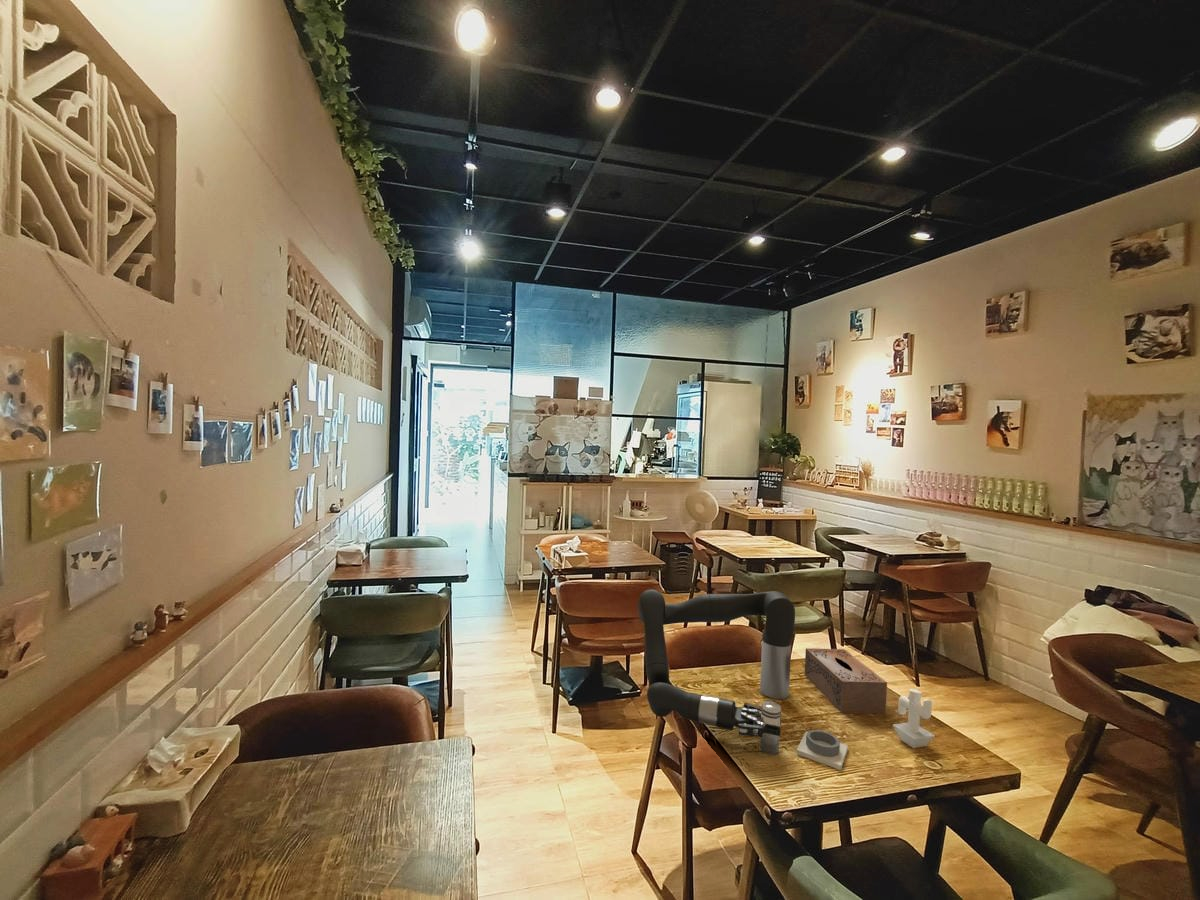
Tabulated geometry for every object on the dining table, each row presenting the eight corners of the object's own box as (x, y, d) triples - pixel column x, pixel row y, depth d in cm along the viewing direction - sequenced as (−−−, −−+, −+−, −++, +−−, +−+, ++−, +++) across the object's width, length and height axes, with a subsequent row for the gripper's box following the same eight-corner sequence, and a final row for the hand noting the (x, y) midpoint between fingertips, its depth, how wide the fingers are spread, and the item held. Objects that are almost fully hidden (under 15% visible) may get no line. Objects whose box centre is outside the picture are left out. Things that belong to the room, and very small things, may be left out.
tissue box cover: (804, 675, 187) (805, 648, 187) (843, 676, 188) (844, 649, 188) (840, 713, 161) (842, 681, 161) (885, 713, 162) (887, 682, 162)
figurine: (908, 732, 151) (910, 681, 151) (937, 750, 142) (940, 697, 142) (888, 735, 149) (891, 683, 149) (917, 754, 140) (920, 700, 140)
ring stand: (805, 735, 147) (806, 722, 147) (847, 749, 141) (848, 736, 141) (796, 754, 138) (796, 740, 138) (840, 770, 132) (841, 755, 132)
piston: (762, 741, 143) (764, 699, 143) (781, 748, 140) (783, 705, 140) (756, 750, 139) (758, 706, 139) (776, 757, 136) (778, 712, 136)
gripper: (720, 713, 151) (781, 726, 145) (712, 738, 138) (779, 754, 132) (721, 687, 151) (782, 700, 145) (713, 710, 138) (780, 725, 132)
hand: (780, 726), depth 139 cm, fingers closed on piston, 5 cm apart
